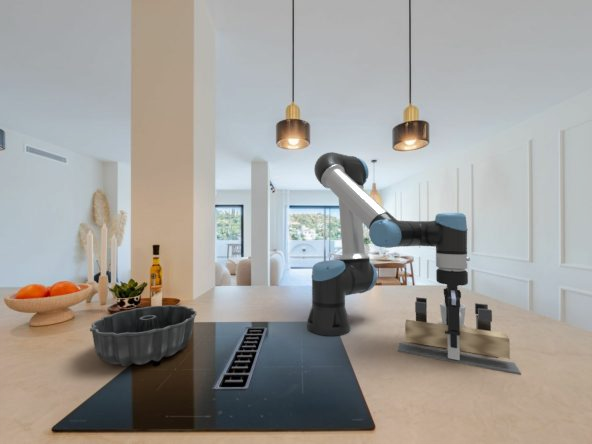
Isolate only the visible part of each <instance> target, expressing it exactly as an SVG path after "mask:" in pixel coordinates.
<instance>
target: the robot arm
mask: <svg viewBox="0 0 592 444" xmlns="http://www.w3.org/2000/svg"><path fill="white" fill-rule="evenodd" d="M314 175H315V178H316V180H317V181H318V182H319V183H320V184H321V185H322V187H324V188H325V189H330V191H332V193H333V194H334V195H335V196H336V197H337V198H338V206H339V207H338V208H339V222H340V223H339V225H340V237H341V249H342V250H341V251H342V255H341V256H340V257H339V258H338V259H331V260H330V259H329V260H323V261H319V262H317V263H315V264H314V265H313V267H312V271H311V272H312V273H311V308H310V311H309V314H308V317H307V321H306V328H307V330H308V331H309V332H311V333H314V334H316V335H319V336H330V337H334V336H342V335H346V334H347V333H349V332H350V331H351V321H350V318H349V315H348V312H347V309H346V297H347V296H350V295H356V294H363V293H366V292H370V291H371V290H373V288H374V287H375V285H376V283H377V281H378V272H377V269H376V267H375V265H374V264H373V263H372V262H370V256H369V255H368V254H367V253H366V252H365V251H366V249H365V238H364V237H365V236H364V226H365V227H366V228H367V229H368V236H369V238H370V241H371V242H372V243H373V245H374V246H376V247H378V248H388V249H391V248H399V247H435V267H436V268H437V269H436V273H435V274H436V275H435V278H436V282H437V283H438V284H441V285H446V287H445V288H443V296H444V302H445V306H446V322H447V323H446V325H448V331H445V334H447V342H448V348H447V349H446V351H448V358H449V359H455V360H460V353H461V351H460V349H459V336H460V322H459V308H460V304H461V299H462V291H461V290H460V289H458V286H461V287H462V286H467V285H468V282H469V272H468V271H467V270H468V262H470V261H471V259H470V257H468V226H467V225H468V224H467V217H466V215H465V214H464V213H462V212H443V213H442V212H441V213H437V214H436V215H435V219H434V220H430V221H428V220H423V221H422V220H421V221H418V220H417V221H414V220H413V221H412V220H398V219H396V218H395V216H393V215H392V214H391V213H389V211H387V209H385V208H384V207H383V206H382V205H381V204H380V203H379V202H378V201H376V199H374V198H373V196H371V195H370V194H369V193H368V192H367V191H365V189H364V188H365V187H364V186H365V184H366V183H367V179H368V178H369V168H368V164H367V163H366V161H364V160H363V159H361V158H359V157H358V156H353V155H348V154H341V153H338V152H334V151H333V152H326V153H324V154H322V155H320V156H319V157H318V158H317V160H316V162H315V164H314ZM363 225H364V226H363Z"/></svg>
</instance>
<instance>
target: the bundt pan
mask: <svg viewBox="0 0 592 444" xmlns="http://www.w3.org/2000/svg"><path fill="white" fill-rule="evenodd" d="M197 315H198V314H197V310H194V308H192V307H188V306H185V305H172V304H170V305H168V304H167V305H153V306H145V307H137V308H132V309H129V310H123V311H122V310H121V311H118V312H115V313H112V314H110V315H107V316H102V317H101V318H100V319H98V320H95V321H94V322H92V323H91V327H90V328H89V331H90V332H91V333H92V334H91V335H92V340H93V345H94V350H95V355H96V356H97V357H98V358H99V359H100V360H102V361H104V362H106V363H108V364H110V365H121V366H122V367H129V366H131V365H133V364H134V365H138V366H139V365H145V364H147V363H149V362H150V361H154V362H160V361H161V359H163V358H168V357H170V356H173V355H175V354H176V353H177V352H179V351H180V352H181V351H182V350H183V349H184V348H186V347H187V345H188V343H189V341H190V339H191V337H192V335H193V330H194V323H195V318H196V316H197Z"/></svg>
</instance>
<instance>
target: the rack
mask: <svg viewBox="0 0 592 444" xmlns="http://www.w3.org/2000/svg"><path fill="white" fill-rule="evenodd" d="M427 300H428V299H427V298H426V297H418V296H416V299H415V302H414V304H415V306H414V308H415V309H414V310H415V321H421V322H427V321H428V320H427V317H428V314H427V313H428V311H427V307H428V305H427ZM474 314H475V322H476V323H475V324H476V326H475V327H476V328H475V329H479V330H487V331H492V330H491V329H492V325H491V324H492V322H493V311H492V309H489V307H488V304H487V303H479V302H478V303H477V302H476V303H474ZM410 343H412V344H414V343H413V342H410ZM415 344H417V345H420V344H419V343H415ZM421 345H423V346H426V345H425V344H421ZM427 346H429V347H431V346H430V345H427ZM433 347H435V348H437V347H436V346H432V348H433ZM438 348H441V349H443V348H442V347H438ZM445 349H446V350H447V348H444V350H445ZM462 352H463V353H469V354H472V353H471V352H466V351H462ZM474 354H475V355H478V354H477V353H473V355H474ZM479 355H481V356H484V355H483V354H479ZM485 356H486V357H490V356H489V355H485ZM491 357H492V358H496V357H495V356H491Z"/></svg>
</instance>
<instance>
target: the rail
mask: <svg viewBox="0 0 592 444" xmlns="http://www.w3.org/2000/svg"><path fill="white" fill-rule="evenodd" d="M404 327H405V328H404V334H405V335H404V336H405V338H404V339H405V342H408V343H411V342H413V343H412V344H416V343H419V344H418V345H422V344H425V345H424V346H428V345H430V346H429V347H433V346H436V347H435V348H439V347H442V348H441V349H445V348H448V342H447V334H445V331H448V325H443V323H441V324H440V323H435V322H421V321H416V320H415V319H412V320H411V319H405V323H404ZM459 349H460V352H463V351H466V352H465V353H468V352H471V353H470V354H474V353H477V354H476V355H480V354H483V355H482V356H486V355H489V356H488V357H492V356H495V357H494V358H501V359H507V360H511V359H510V358H511V354H510V353H511V352H510V337H509V336H508V335H507V333H506V332H500V331H492V330H491V331H487V330H479V329H476V328H471V327H464V326H463V327H460V336H459Z"/></svg>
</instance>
